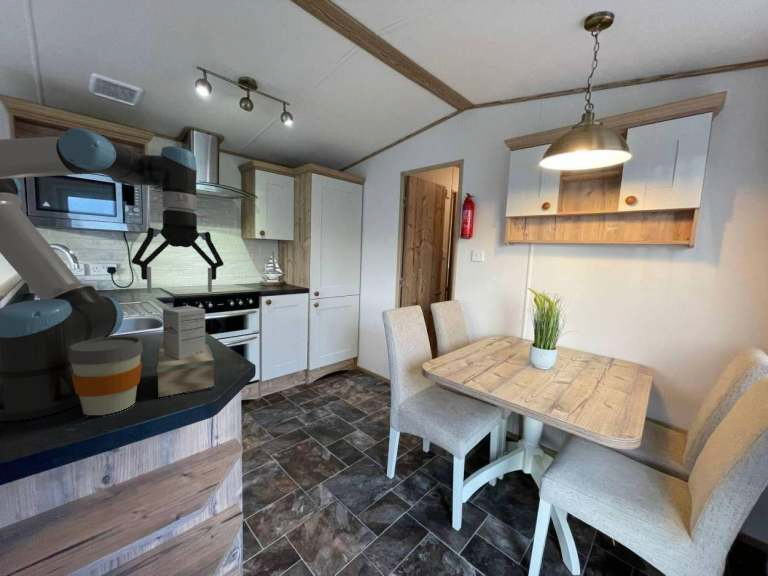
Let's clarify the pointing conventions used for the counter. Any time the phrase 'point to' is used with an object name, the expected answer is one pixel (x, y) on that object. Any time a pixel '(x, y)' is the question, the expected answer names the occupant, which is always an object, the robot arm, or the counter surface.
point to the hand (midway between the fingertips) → (181, 292)
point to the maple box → (184, 373)
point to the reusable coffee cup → (106, 373)
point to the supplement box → (184, 331)
